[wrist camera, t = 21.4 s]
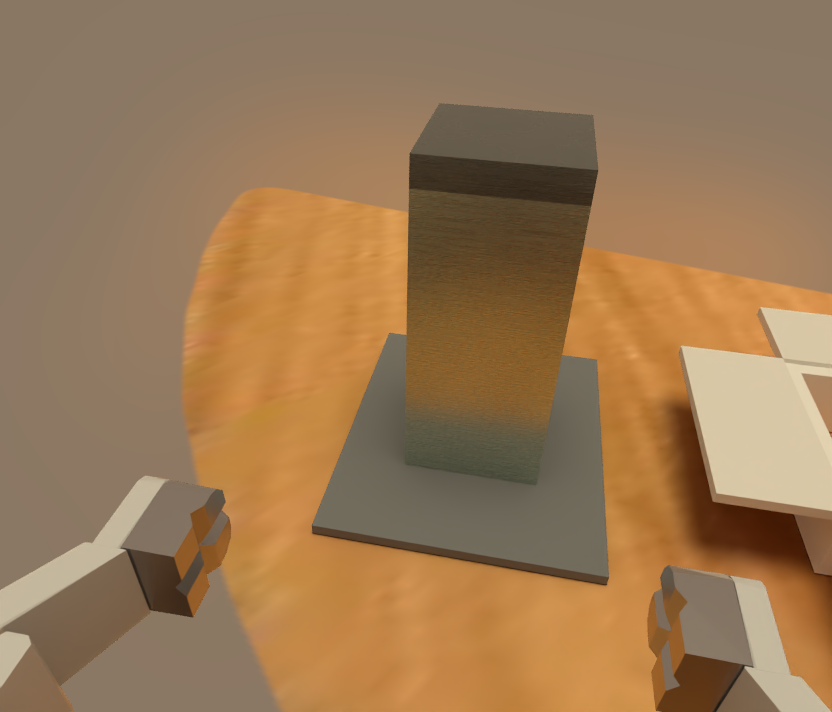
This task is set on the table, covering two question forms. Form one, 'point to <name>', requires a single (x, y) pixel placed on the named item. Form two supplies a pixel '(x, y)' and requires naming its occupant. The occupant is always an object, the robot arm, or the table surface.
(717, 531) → the table surface
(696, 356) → the carton
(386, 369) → the mat
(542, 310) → the tea tin
